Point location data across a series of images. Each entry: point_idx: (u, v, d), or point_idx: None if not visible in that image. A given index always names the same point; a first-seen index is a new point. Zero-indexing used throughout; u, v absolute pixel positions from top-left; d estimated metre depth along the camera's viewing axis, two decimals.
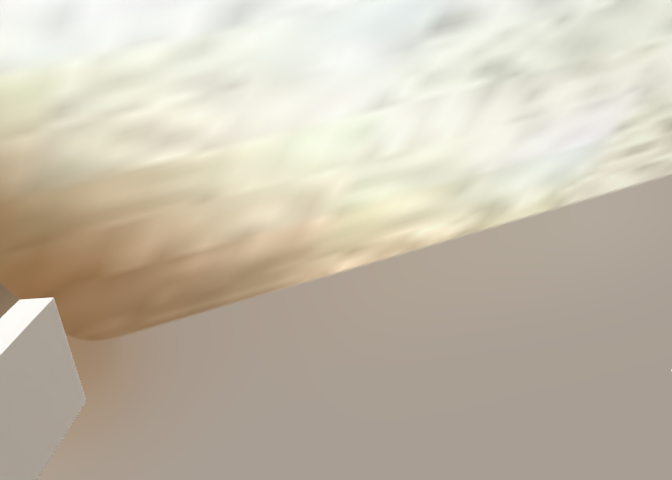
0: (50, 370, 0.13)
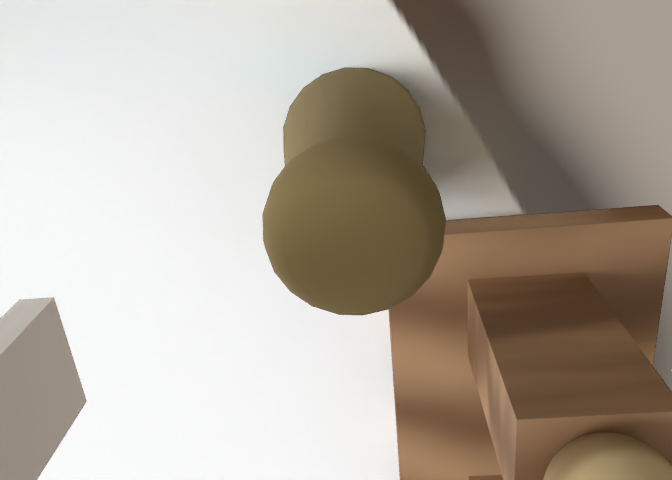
0: (50, 370, 0.13)
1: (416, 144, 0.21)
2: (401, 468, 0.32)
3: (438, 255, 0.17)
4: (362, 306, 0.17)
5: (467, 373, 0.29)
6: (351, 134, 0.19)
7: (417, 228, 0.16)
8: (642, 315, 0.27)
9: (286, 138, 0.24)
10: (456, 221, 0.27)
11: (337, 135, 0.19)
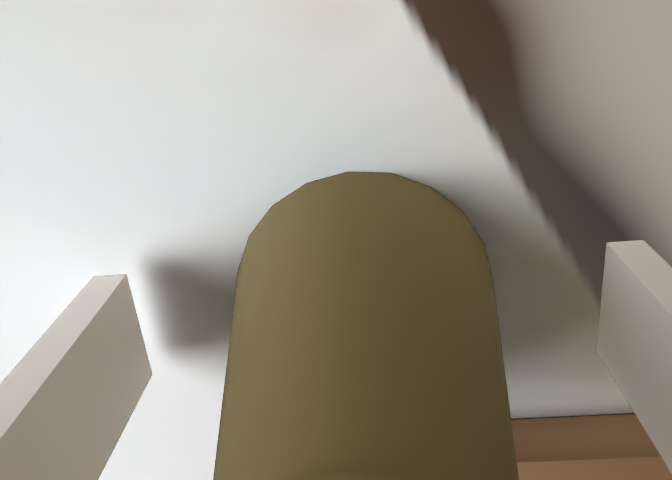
0: (125, 342, 0.13)
1: (500, 370, 0.10)
2: None
3: None
4: None
5: None
6: (361, 421, 0.07)
7: None
8: None
9: (234, 316, 0.12)
10: (540, 423, 0.16)
11: (325, 419, 0.07)
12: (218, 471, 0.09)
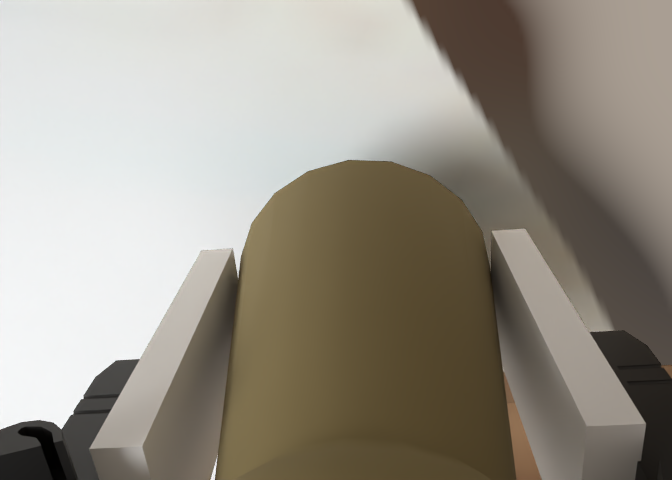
0: (233, 312, 0.14)
1: (495, 350, 0.10)
2: None
3: None
4: None
5: None
6: (360, 392, 0.08)
7: None
8: None
9: (237, 300, 0.13)
10: None
11: (326, 391, 0.08)
12: (223, 443, 0.09)
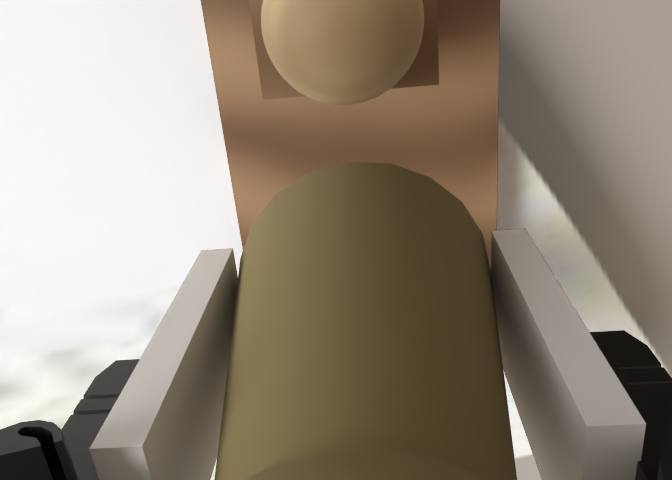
0: (233, 312, 0.14)
1: (496, 353, 0.10)
2: (238, 211, 0.29)
3: None
4: None
5: None
6: (360, 397, 0.08)
7: None
8: None
9: (237, 302, 0.13)
10: None
11: (326, 395, 0.08)
12: (222, 448, 0.09)
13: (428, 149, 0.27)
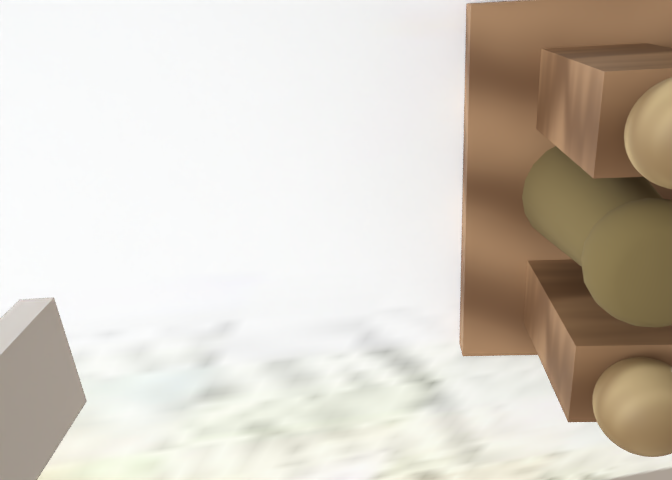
0: (50, 370, 0.13)
1: None
2: (466, 250, 0.35)
3: None
4: (664, 320, 0.24)
5: (534, 148, 0.32)
6: (637, 195, 0.26)
7: None
8: None
9: (543, 191, 0.31)
10: None
11: (626, 195, 0.26)
12: (580, 219, 0.27)
13: None
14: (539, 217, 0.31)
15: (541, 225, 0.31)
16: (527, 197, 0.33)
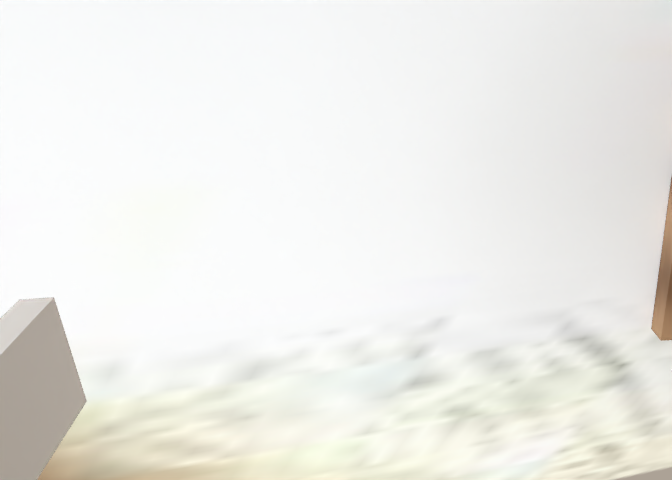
0: (50, 370, 0.13)
1: None
2: None
3: None
4: None
5: None
6: None
7: None
8: None
9: None
10: None
11: None
12: None
13: None
14: None
15: None
16: None
